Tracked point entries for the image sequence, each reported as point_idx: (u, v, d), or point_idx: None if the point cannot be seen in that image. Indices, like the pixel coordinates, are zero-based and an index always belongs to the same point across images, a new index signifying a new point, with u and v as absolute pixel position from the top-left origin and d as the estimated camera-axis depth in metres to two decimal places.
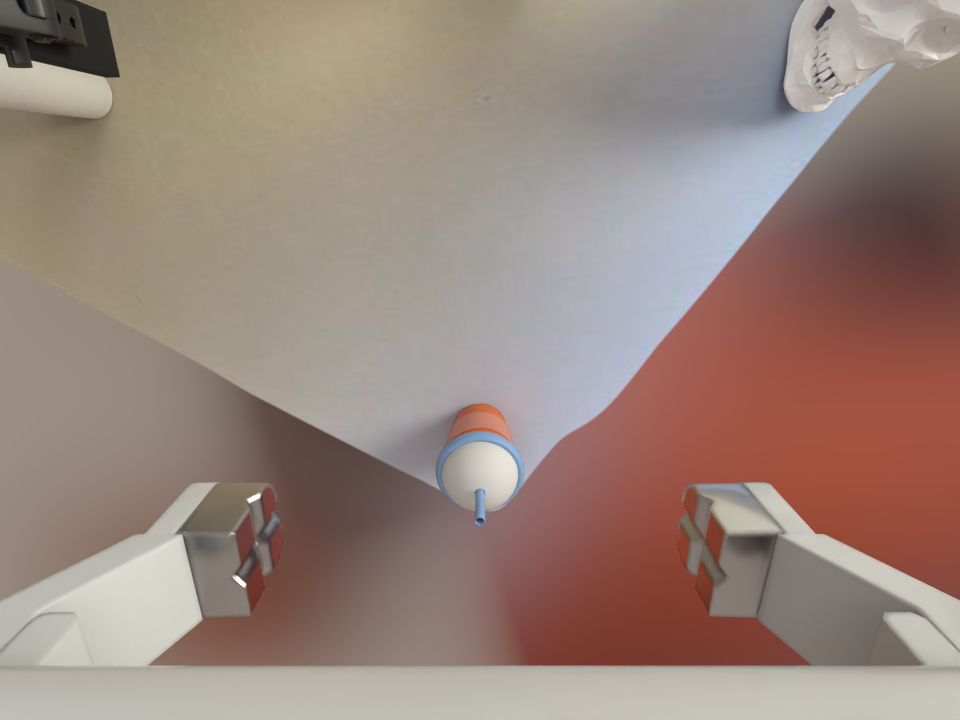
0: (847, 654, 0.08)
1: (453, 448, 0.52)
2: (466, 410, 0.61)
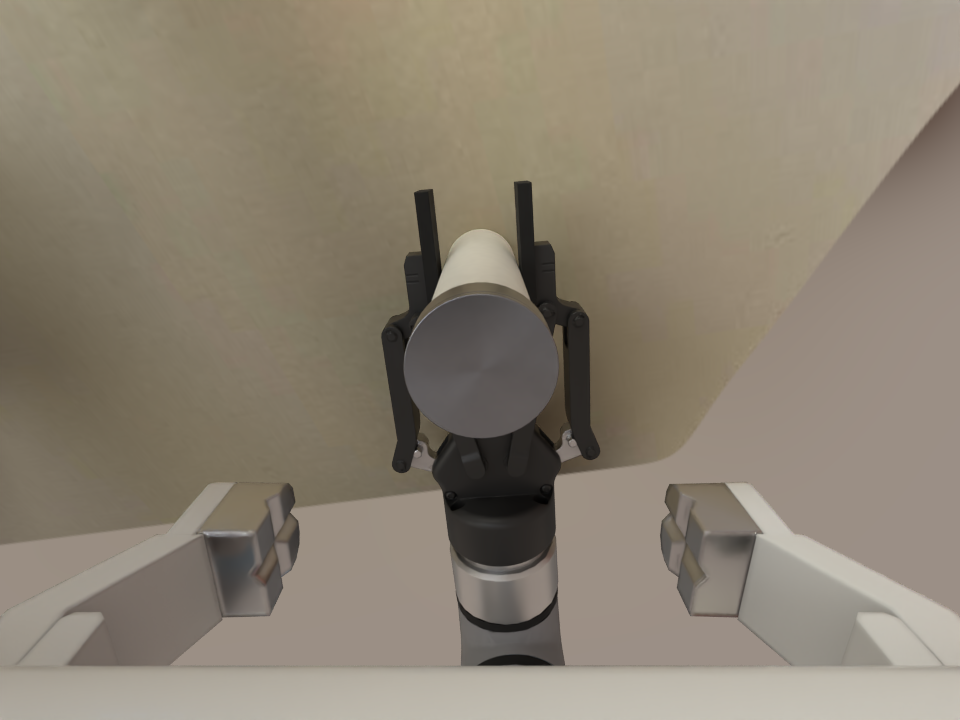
0: (824, 654, 0.08)
1: None
2: None
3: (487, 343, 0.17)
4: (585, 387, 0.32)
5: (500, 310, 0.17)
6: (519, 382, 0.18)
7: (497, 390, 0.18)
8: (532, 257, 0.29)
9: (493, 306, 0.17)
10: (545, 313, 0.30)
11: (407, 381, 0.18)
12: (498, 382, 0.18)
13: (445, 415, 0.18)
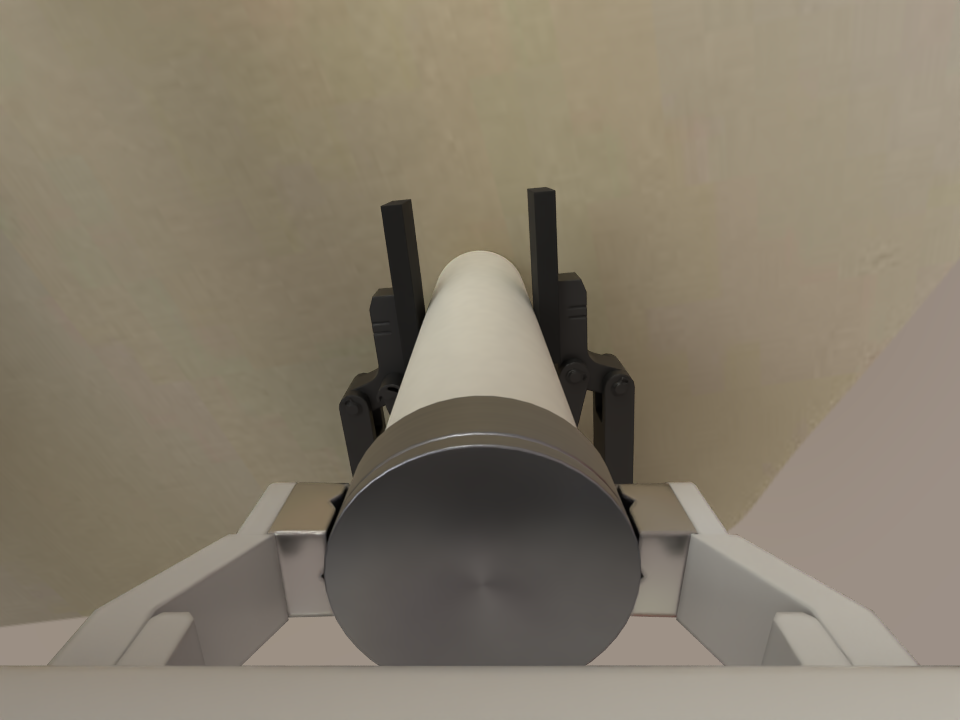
0: (753, 654, 0.08)
1: None
2: None
3: (495, 538, 0.08)
4: (626, 475, 0.23)
5: (523, 476, 0.08)
6: (559, 605, 0.09)
7: (515, 619, 0.09)
8: (555, 299, 0.20)
9: (508, 469, 0.08)
10: (572, 377, 0.21)
11: (332, 603, 0.09)
12: (516, 604, 0.09)
13: (412, 660, 0.09)
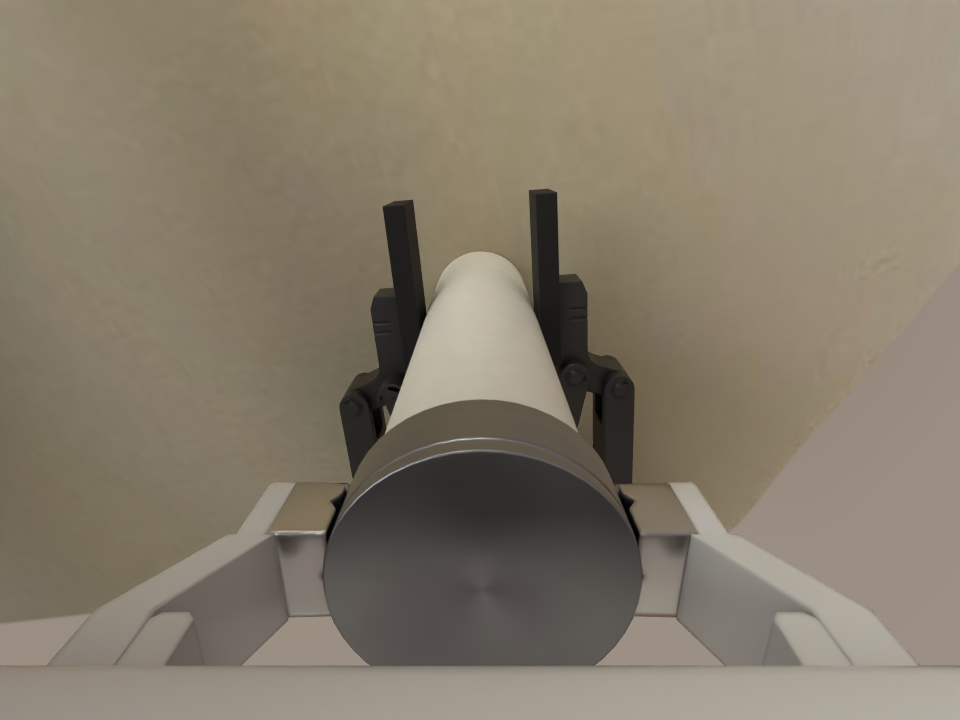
0: (753, 654, 0.08)
1: None
2: None
3: (430, 567, 0.08)
4: (626, 477, 0.23)
5: (366, 530, 0.08)
6: (533, 534, 0.08)
7: (536, 574, 0.08)
8: (556, 300, 0.20)
9: (354, 540, 0.08)
10: (572, 378, 0.21)
11: None
12: (517, 568, 0.08)
13: (554, 665, 0.09)
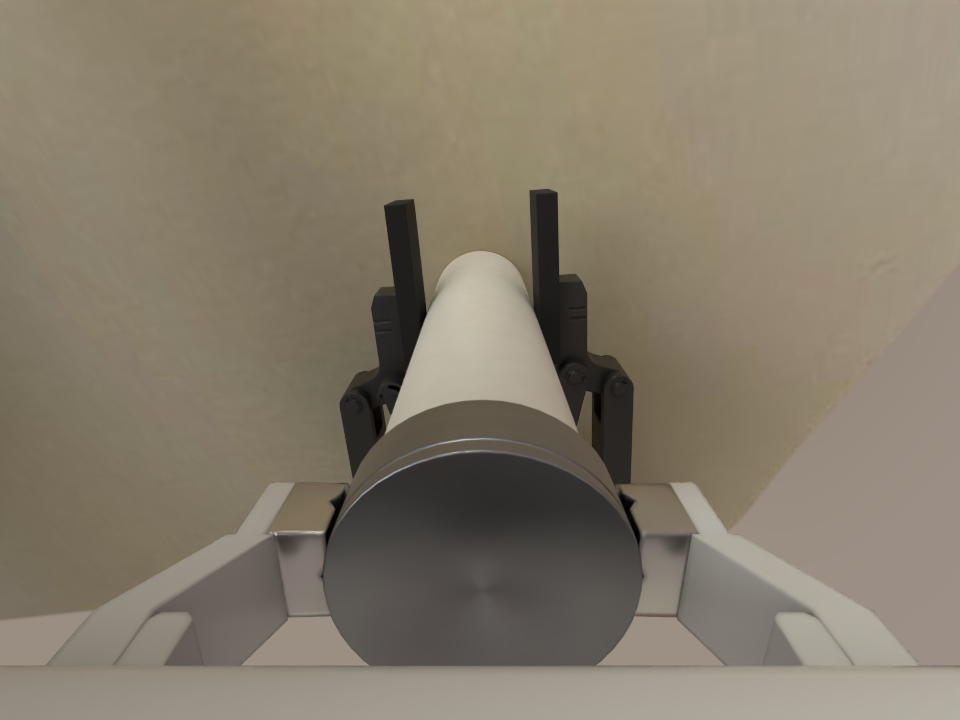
0: (754, 654, 0.08)
1: None
2: None
3: (441, 621, 0.09)
4: (624, 476, 0.23)
5: (387, 653, 0.09)
6: (428, 536, 0.08)
7: (478, 545, 0.08)
8: (556, 300, 0.20)
9: (394, 663, 0.09)
10: (572, 377, 0.21)
11: (619, 638, 0.09)
12: (467, 558, 0.08)
13: (606, 554, 0.08)
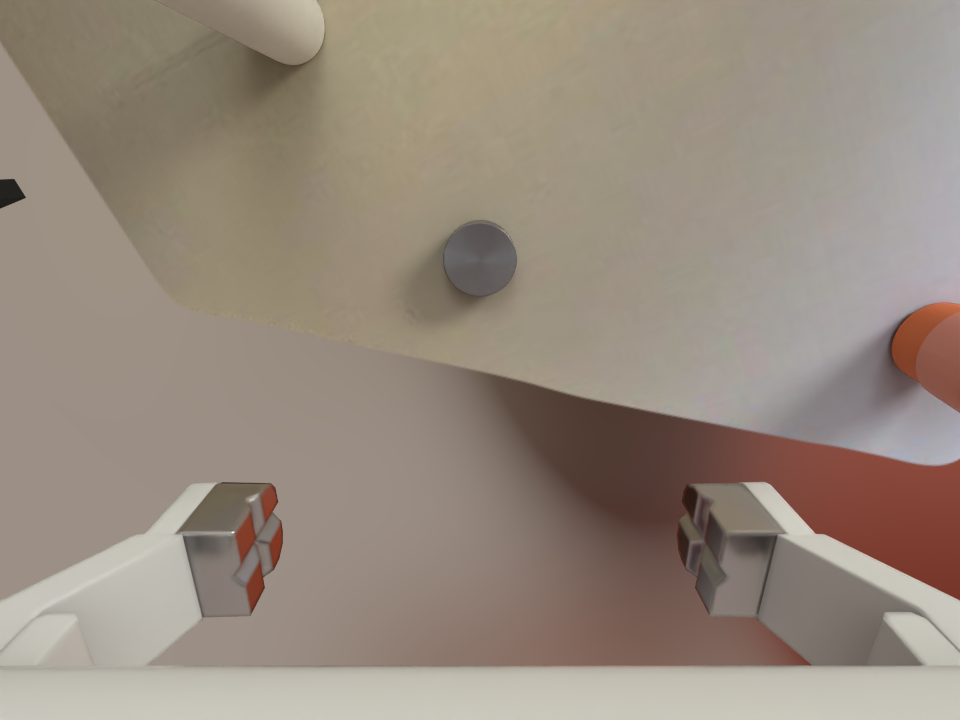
0: (847, 654, 0.08)
1: None
2: (919, 318, 0.40)
3: (493, 257, 0.37)
4: None
5: (510, 256, 0.37)
6: (481, 279, 0.38)
7: (473, 271, 0.38)
8: None
9: (510, 253, 0.37)
10: None
11: (460, 229, 0.37)
12: (477, 270, 0.38)
13: (451, 254, 0.37)
